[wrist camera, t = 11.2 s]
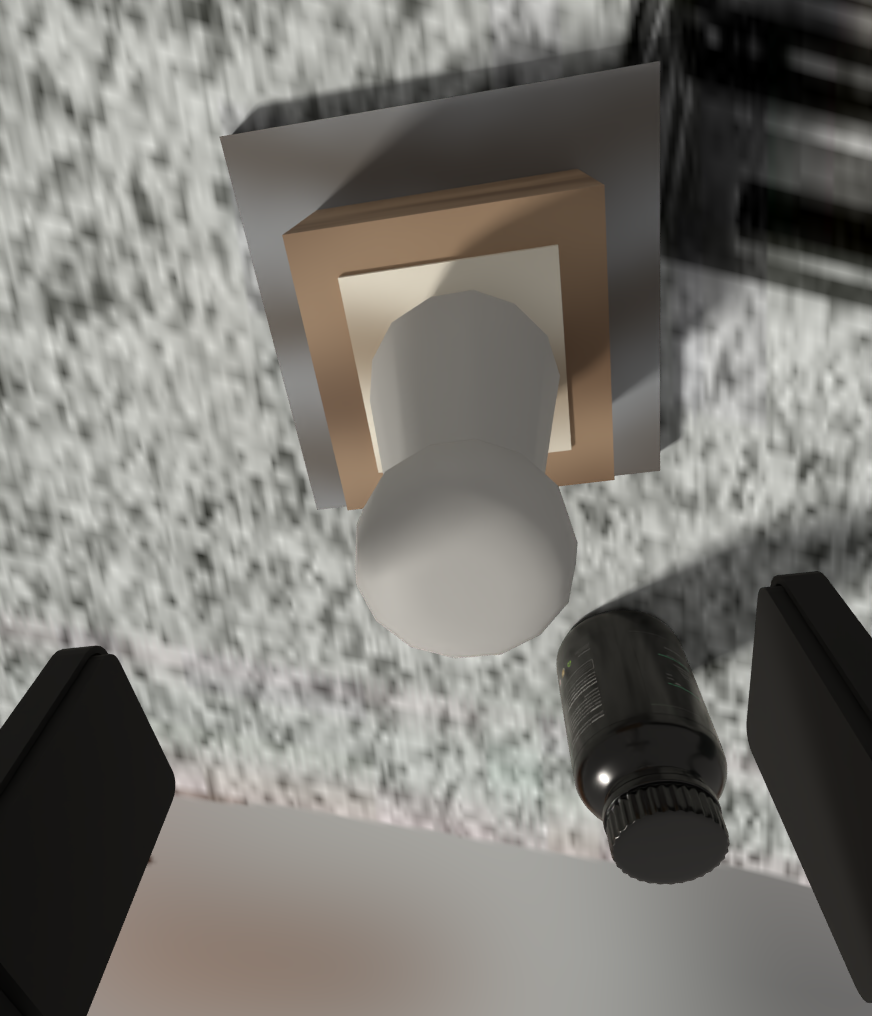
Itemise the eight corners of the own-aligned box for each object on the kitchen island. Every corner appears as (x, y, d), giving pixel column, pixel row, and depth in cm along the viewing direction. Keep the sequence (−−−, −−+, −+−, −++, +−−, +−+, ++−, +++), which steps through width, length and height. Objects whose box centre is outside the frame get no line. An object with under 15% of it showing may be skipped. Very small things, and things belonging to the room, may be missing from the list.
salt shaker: (359, 414, 25) (273, 666, 14) (404, 250, 23) (341, 399, 11) (516, 461, 26) (555, 737, 15) (578, 307, 23) (684, 502, 12)
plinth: (230, 135, 28) (157, 145, 21) (650, 63, 26) (712, 50, 20) (322, 494, 36) (289, 585, 29) (652, 456, 34) (698, 543, 27)
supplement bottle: (581, 714, 42) (619, 915, 32) (535, 631, 40) (560, 822, 29) (696, 677, 41) (775, 876, 30) (656, 587, 38) (729, 772, 27)
